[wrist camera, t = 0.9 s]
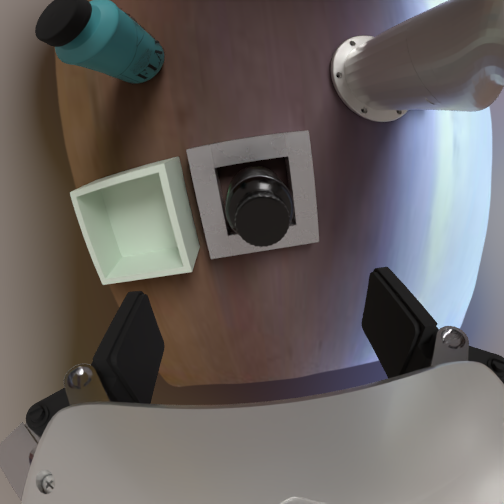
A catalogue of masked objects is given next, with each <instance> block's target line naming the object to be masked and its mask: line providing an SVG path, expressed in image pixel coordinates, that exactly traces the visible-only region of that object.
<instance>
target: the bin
mask: <svg viewBox="0 0 504 504" xmlns="http://www.w3.org/2000/svg"><path fill="white" fill-rule="evenodd" d="M70 195H71V199H72V202H73V206H74V209H75V212H76V215H77V218H78V221H79V224H80V227H81V230H82V233H83V236H84V239H85V241H86V244H87V247H88V250H89V252H90V255H91V258H92V260H93V263H94V265H95V267H96V270H97V272H98V275H99V277H100V279H101V282H102V284H103V285H106V284H113V283H120V282H127V281H134V280H141V279H148V278H154V277H161V276H168V275H175V274H181V273H188V272H192V270H193V267H194V264H195V261H196V258H197V254H198V251H199V248H200V245H199V241H198V237H197V233H196V229H195V225H194V221H193V217H192V212H191V208H190V204H189V199H188V195H187V191H186V186H185V182H184V177H183V173H182V168H181V163H180V158H179V157H174V158H170V159H166V160H162V161H158V162H154V163H151V164H147V165H143V166H140V167H136V168H133V169H129V170H126V171H123V172H120V173H116V174H113V175H110V176H107V177H104V178H101V179H98V180H95V181H93V182H91V183H89V184H86V185H84V186H82V187H80V188H78V189H76V190H74V191H72V192H70Z"/></svg>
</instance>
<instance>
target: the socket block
mask: <svg viewBox="0 0 504 504" xmlns="http://www.w3.org/2000/svg"><path fill="white" fill-rule="evenodd" d="M186 151H187V156H188V161H189V165H190V170H191V175H192V180H193V184H194V189H195V194H196V198H197V203H198V207H199V211H200V216H201V220H202V224H203V229H204V233H205V237H206V241H207V245H208V249H209V253H210V257H211V259H215V258H221V257H228V256H234V255H240V254H247V253H253V252H259V251H266V250H272V249H278V248H284V247H291V246H297V245H303V244H309V243H316V242H319V231H318V216H317V203H316V192H315V181H314V171H313V162H312V153H311V145H310V137H309V131H293V132H284V133H275V134H268V135H260V136H253V137H247V138H241V139H235V140H229V141H223V142H218V143H213V144H208V145H203V146H198V147H194V148H190V149H187V150H186ZM279 157H285V163H286V170H287V178H288V186H289V192H290V194H291V196H292V199H293V203H294V213H293V218H292V221H291V223H290V225H289V229H288V230H287V233H286V234H285V236H284V237H283V238H282V239H281V240H280V241H278V242H277V243H276V244H273V245H271V246H267V247H265V246H263V247H259V246H254V245H250V244H249V243H246V241H245V240H243V239H242V237H241V236H239V235H238V234H237V233H236V232H235V231H234V230H233V229H232V228H231V227H229V226H228V221H227V217H226V211H225V206H224V201H223V196H222V190H221V185H220V180H219V175H218V170H217V167H222V166H227V165H233V164H239V163H245V162H251V161H258V160H264V159H271V158H279Z"/></svg>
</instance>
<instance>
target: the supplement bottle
mask: <svg viewBox="0 0 504 504" xmlns="http://www.w3.org/2000/svg"><path fill="white" fill-rule="evenodd" d="M225 211H226V217H227V220H228V223H229V225H230V226H231V228H232V229H233V230H234V231H235V232H236V233H237V234H238V235H239V236H241V237H242V239H243V240H245V241H246V243H249V244H250V245H254V246H259V247H263V246H265V247H267V246H271V245H273V244H276V243H277V242H278V241H280V240H281V239H282V238H283V237H284V236H285V234H286V233H287V230H288V229H289V225H290V223H291V221H292V218H293V213H294V203H293V199H292V196H291V194H290V192H289V190H288V189H287V187H286V186H285V185H284V183H283V182H282V181H281V180H280V178H279V177H278V176H277V175H276V174H275V173H274V172H273V171H272V170H270V169H268V168H266V167H263V166H249V167H246V168H244V169H242V170H240V171H239V172H238V173H237V174H236V175H235V176H234V177H233V179H232V181H231V183H230V186H229V190H228V194H227V199H226V206H225Z"/></svg>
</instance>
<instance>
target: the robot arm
mask: <svg viewBox="0 0 504 504" xmlns="http://www.w3.org/2000/svg"><path fill="white" fill-rule="evenodd" d="M350 44H351V45H352V46H351V45H350ZM330 71H331V78H332V82H333V85H334V88H335V89H336V91H337V93H338V95H339V97H340V98H341V99H342V101H343V102H344V103H345V104H346V105H347V106H348V107H349V109H351V110H352V111H353V112H355V113H356V114H357V115H359V116H361V117H363V118H365V119H368V120H371V121H377V122H389V121H394V120H396V119H398V118H400V117H402V116H403V115H404V114H405V113H406V112H407V111H408V110H450V111H468V112H471V111H479V110H483V109H485V108H487V107H489V106H490V105H491V104H492V103H493V102H494V101H495V100H496V98H497V97H498V96H499V94H500V93H501V91H502V89H503V87H504V0H448V1H446V2H444V3H442V4H440V5H438V6H436V7H434V8H432V9H429V10H427V11H425V12H423V13H421V14H418V15H416V16H414V17H412V18H410V19H408V20H406V21H404V22H402V23H400V24H398V25H396V26H394V27H392V28H390V29H388V30H387V31H385V32H383V33H381V34H379V35H378V36H376V37H372V36H355V37H352V38H350V39H347V40H346V41H344V42H343V43H342V44H341V45H340V46H339V47H338V48H337V49H336V51H335V52H334V54H333V57H332V60H331V69H330ZM336 75H338V76H339V78H337V76H336ZM361 109H362V110H363V112H362V111H361ZM436 325H437V323H436V321H435V320H434V319H433V318H432V316H431V315H430V314H429V313H428V312H427V310H426V309H425V308H424V307H423V306H422V305H421V303H420V302H419V301H418V300H417V299H416V298H415V297H414V295H413V294H412V293H411V292H410V291H409V290H408V289H407V287H406V286H405V285H404V284H403V283H402V282H401V281H400V280H399V279H398V278H397V276H396V275H395V274H394V273H393V272H392V271H391V270H390V269H389V268H388V267H382V268H375V269H374V271H373V272H371V273H370V277H369V284H368V290H367V296H366V302H365V308H364V313H363V318H362V328H363V330H364V332H365V334H366V336H367V338H368V340H369V342H370V343H371V345H372V347H373V349H374V351H375V353H376V355H377V357H378V359H379V361H380V363H381V365H382V367H383V368H384V370H385V372H386V374H387V376H388V378H389V379H385V380H381V381H378V382H374V383H370V384H366V385H362V386H358V387H354V388H349V389H344V390H339V391H334V392H329V393H324V394H318V395H313V396H306V397H300V398H293V399H285V400H277V401H267V402H256V403H244V404H226V405H162V404H150V403H151V399H152V395H153V391H154V386H155V382H156V379H157V375H158V371H159V367H160V363H161V359H162V356H163V352H164V341H163V338H162V336H161V333H160V330H159V328H158V325H157V322H156V319H155V316H154V313H153V311H152V308H151V305H150V302H149V299H148V296H147V295H146V294H144V293H143V292H142V291H135V292H128V294H127V295H126V297H125V299H124V301H123V302H122V304H121V306H120V308H119V310H118V311H117V313H116V315H115V317H114V319H113V321H112V322H111V324H110V326H109V328H108V330H107V332H106V334H105V336H104V338H103V339H102V341H101V343H100V345H99V347H98V349H97V351H96V353H95V355H94V357H93V362H92V364H91V365H89V364H79V365H76V366H74V367H73V368H71V369H70V370H69V371H68V372H67V374H66V375H65V378H64V387H65V388H63V389H61V390H60V391H58V392H56V393H54V394H52V395H50V396H49V397H47V398H45V399H43V400H41V401H39V402H37V403H36V404H34V405H33V406H32V407H31V408H30V409H29V410H28V412H27V415H26V424H24V423H23V422H22V423H21V424H20V425H19V426H18V427H17V428H16V429H15V430H14V431H13V432H12V433H11V434H10V435H9V436H8V437H7V438H6V439H5V440H4V441H2V442H1V444H0V467H1V469H2V471H3V472H4V474H5V476H6V478H7V479H8V481H9V483H10V484H11V486H12V488H13V489H14V491H15V492H16V494H17V495H18V497H19V498H20V500H21V501H22V502H21V504H504V358H503V357H502V356H499V355H497V354H494V353H490V352H487V351H484V350H481V349H478V348H474V347H471V346H469V341H468V337H467V336H466V334H465V333H464V332H463V331H462V330H460V329H459V328H456V327H453V326H445V327H442V328H440V329H438V328H437V327H436Z"/></svg>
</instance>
